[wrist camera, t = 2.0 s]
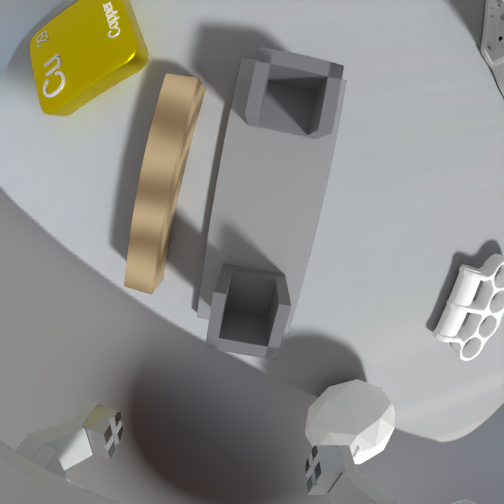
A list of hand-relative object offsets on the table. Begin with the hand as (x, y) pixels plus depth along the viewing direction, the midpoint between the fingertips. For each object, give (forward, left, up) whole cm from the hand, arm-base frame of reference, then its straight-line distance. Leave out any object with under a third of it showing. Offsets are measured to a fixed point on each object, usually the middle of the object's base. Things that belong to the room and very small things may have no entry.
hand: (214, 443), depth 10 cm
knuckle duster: (+2, +37, -27) cm, 46 cm away
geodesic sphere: (+21, +19, -27) cm, 39 cm away
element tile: (-23, -26, -27) cm, 44 cm away
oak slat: (-6, -11, -27) cm, 30 cm away
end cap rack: (-6, +1, -27) cm, 27 cm away
